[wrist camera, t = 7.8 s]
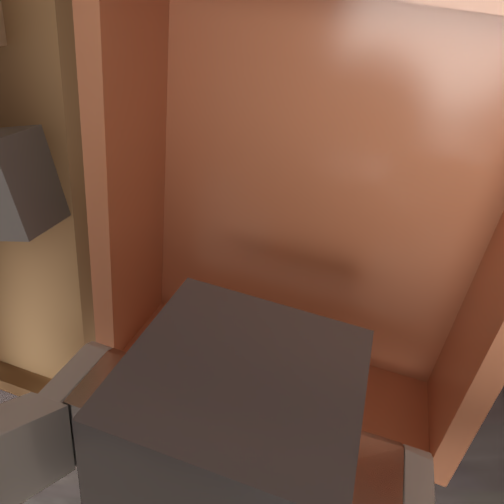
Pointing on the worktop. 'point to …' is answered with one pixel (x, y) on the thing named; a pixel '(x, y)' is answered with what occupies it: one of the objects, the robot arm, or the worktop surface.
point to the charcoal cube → (227, 407)
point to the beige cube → (2, 28)
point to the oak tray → (73, 184)
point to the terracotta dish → (309, 182)
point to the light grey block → (28, 185)
